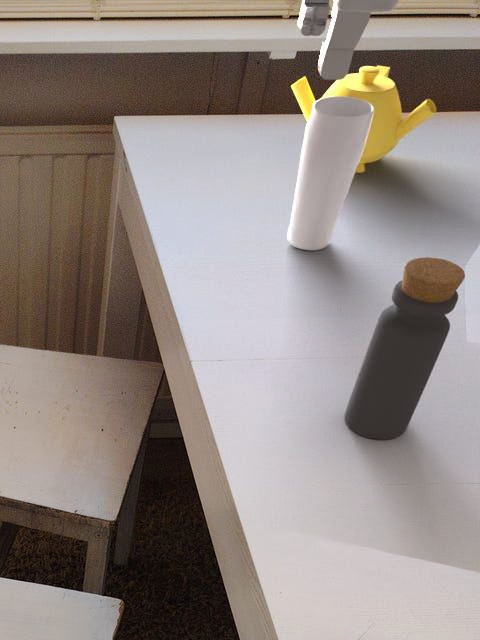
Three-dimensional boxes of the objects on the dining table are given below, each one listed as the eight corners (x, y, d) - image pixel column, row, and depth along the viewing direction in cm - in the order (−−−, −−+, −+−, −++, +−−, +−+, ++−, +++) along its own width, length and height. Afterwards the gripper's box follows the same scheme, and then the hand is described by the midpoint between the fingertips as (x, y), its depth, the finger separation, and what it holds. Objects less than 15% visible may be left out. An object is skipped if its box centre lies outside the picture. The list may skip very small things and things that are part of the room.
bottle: (405, 445, 77) (472, 292, 65) (340, 433, 78) (395, 281, 67) (408, 410, 80) (473, 258, 69) (346, 399, 82) (400, 248, 70)
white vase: (333, 258, 100) (374, 120, 88) (276, 251, 101) (309, 114, 90) (337, 233, 104) (377, 98, 92) (283, 227, 105) (315, 93, 94)
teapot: (254, 165, 117) (272, 75, 109) (302, 125, 126) (322, 38, 118) (393, 197, 110) (425, 102, 101) (434, 151, 119) (466, 61, 110)
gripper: (493, -206, 41) (396, 107, 52) (403, -246, 54) (340, 12, 65) (364, -203, 42) (294, 106, 52) (305, -243, 54) (259, 12, 65)
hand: (319, 53), depth 59 cm, fingers open, 8 cm apart
